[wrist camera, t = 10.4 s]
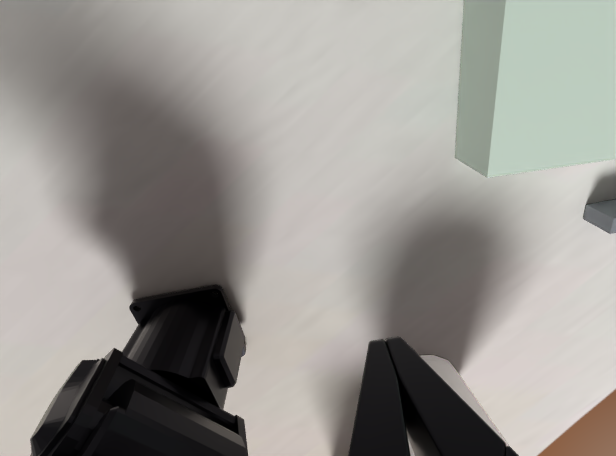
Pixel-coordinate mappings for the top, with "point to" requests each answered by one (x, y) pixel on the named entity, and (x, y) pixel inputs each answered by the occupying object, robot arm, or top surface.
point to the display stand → (602, 215)
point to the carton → (536, 85)
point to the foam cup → (457, 388)
